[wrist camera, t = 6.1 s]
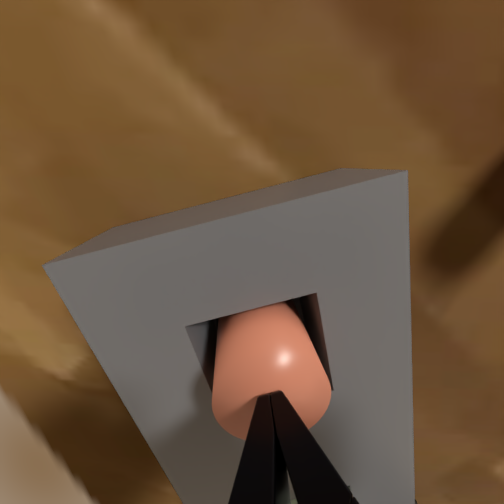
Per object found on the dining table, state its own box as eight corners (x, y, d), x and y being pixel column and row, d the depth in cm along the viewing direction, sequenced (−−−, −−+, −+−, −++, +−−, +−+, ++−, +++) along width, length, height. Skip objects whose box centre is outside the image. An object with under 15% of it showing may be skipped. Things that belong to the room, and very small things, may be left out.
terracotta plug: (300, 335, 14) (337, 426, 9) (230, 353, 14) (230, 454, 9) (287, 271, 12) (322, 338, 8) (208, 292, 12) (195, 371, 8)
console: (373, 461, 21) (415, 549, 16) (235, 496, 21) (236, 593, 16) (341, 168, 12) (407, 170, 8) (112, 227, 13) (42, 265, 8)
